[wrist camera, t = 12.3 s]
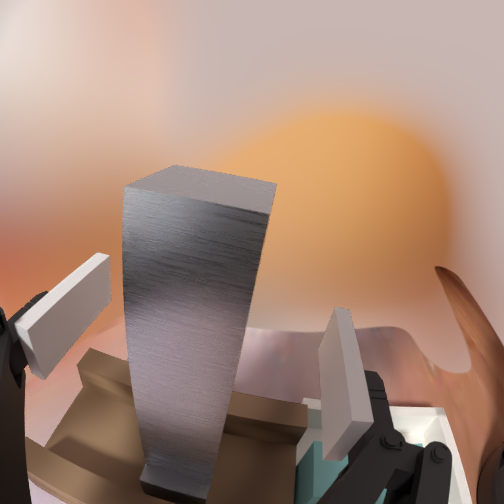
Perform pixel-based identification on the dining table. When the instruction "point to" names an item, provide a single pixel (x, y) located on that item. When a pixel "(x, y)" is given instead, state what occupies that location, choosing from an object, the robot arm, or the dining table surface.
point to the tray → (413, 430)
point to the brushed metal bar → (188, 314)
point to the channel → (131, 451)
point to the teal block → (315, 475)
